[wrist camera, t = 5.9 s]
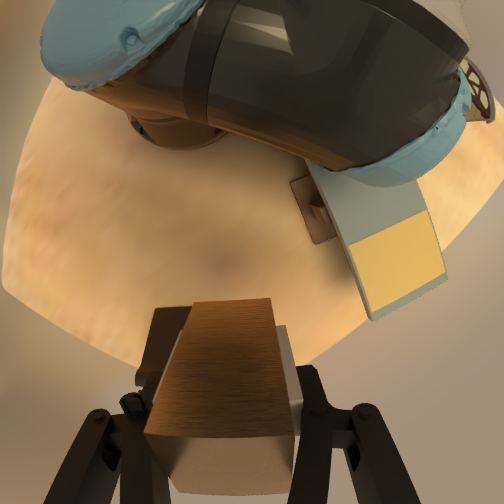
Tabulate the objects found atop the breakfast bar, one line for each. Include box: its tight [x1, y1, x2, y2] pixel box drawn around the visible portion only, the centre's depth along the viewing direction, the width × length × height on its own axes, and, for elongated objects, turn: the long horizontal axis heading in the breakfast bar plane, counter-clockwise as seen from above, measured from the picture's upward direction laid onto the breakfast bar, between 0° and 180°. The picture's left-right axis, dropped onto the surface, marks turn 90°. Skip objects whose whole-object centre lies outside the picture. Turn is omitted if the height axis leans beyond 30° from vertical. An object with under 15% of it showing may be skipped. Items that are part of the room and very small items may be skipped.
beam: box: [304, 158, 448, 321], centre depth 24 cm, size 22×10×4 cm, turn 24°
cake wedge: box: [459, 55, 495, 124], centre depth 24 cm, size 12×6×10 cm, turn 65°
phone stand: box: [135, 307, 192, 393], centre depth 32 cm, size 9×6×12 cm, turn 5°
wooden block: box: [143, 298, 295, 496], centre depth 13 cm, size 5×5×11 cm
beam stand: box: [290, 174, 338, 245], centre depth 29 cm, size 15×13×6 cm
